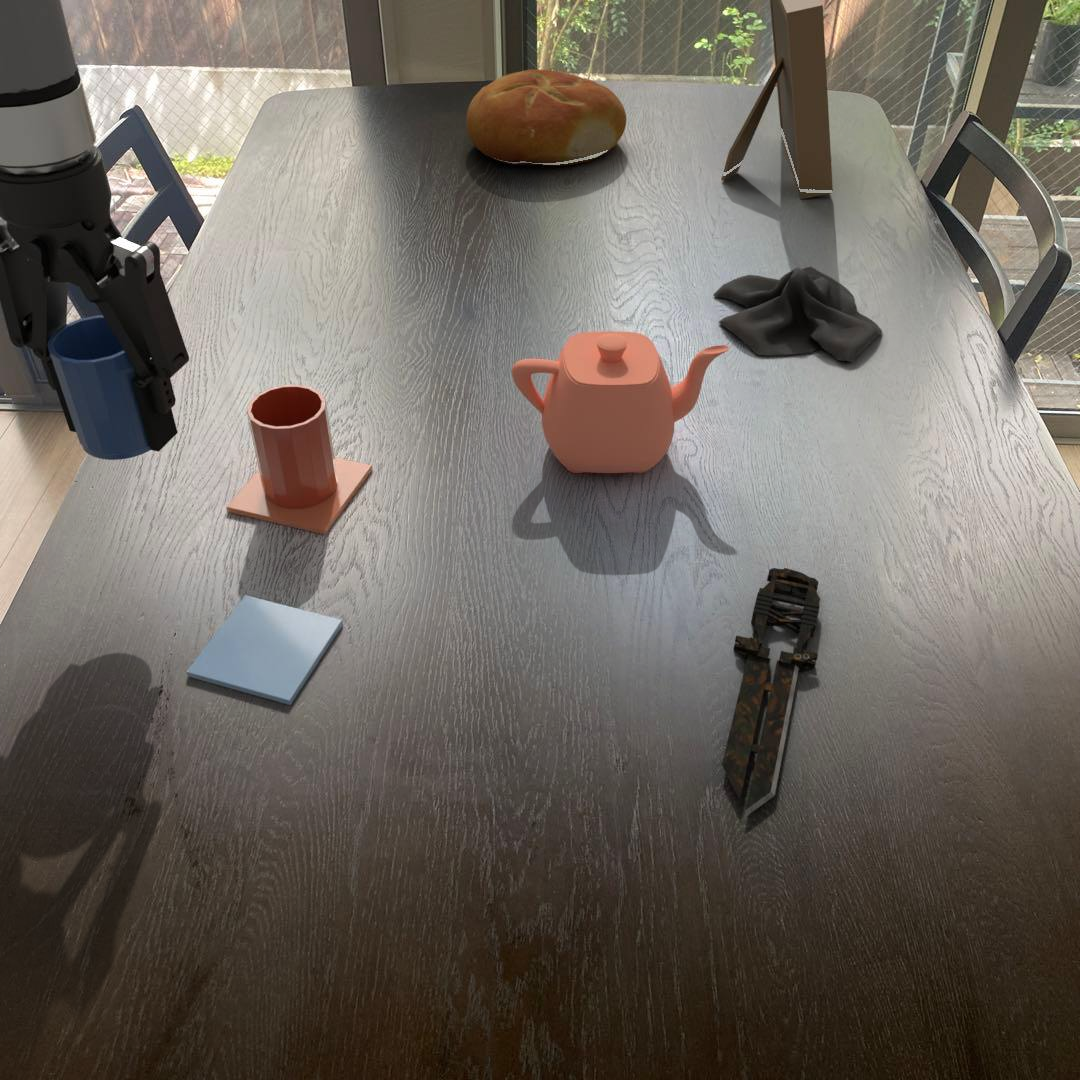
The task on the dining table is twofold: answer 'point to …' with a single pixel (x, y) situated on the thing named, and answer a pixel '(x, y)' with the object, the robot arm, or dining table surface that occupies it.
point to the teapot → (611, 400)
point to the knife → (769, 685)
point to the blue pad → (266, 649)
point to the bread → (544, 118)
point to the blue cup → (98, 389)
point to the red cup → (293, 445)
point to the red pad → (310, 518)
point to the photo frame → (796, 95)
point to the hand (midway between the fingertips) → (123, 431)
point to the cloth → (797, 315)
